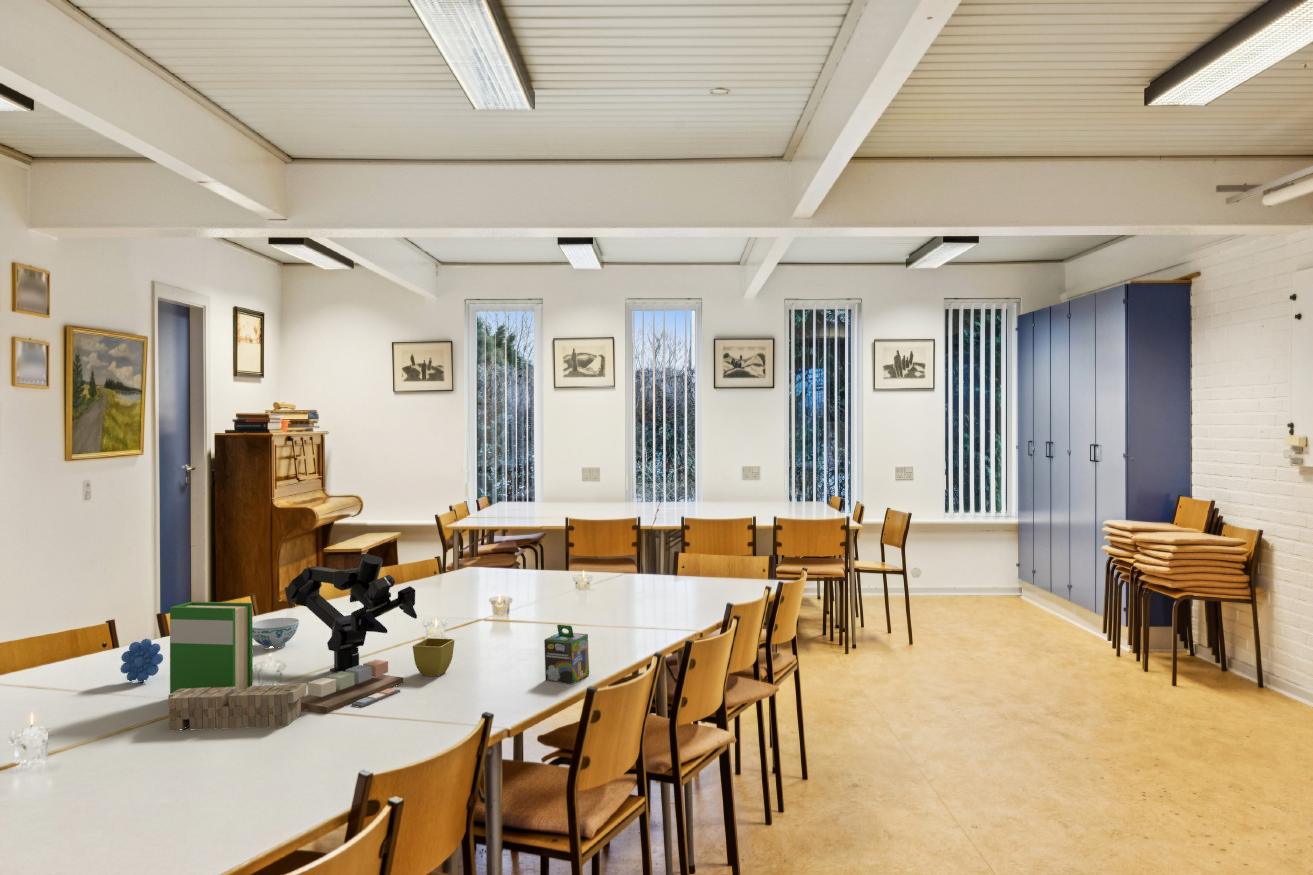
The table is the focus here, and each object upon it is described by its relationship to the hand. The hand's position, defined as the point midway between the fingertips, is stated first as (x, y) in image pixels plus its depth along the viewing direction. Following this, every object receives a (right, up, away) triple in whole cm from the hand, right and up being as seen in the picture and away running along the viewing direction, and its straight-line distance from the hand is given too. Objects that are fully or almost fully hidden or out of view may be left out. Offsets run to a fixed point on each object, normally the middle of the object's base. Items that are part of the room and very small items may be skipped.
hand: (401, 624), depth 209 cm
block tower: (-29, -16, -29) cm, 44 cm away
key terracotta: (-7, -13, -1) cm, 15 cm away
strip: (-2, -16, -13) cm, 21 cm away
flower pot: (+6, -16, +8) cm, 19 cm away
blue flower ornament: (-73, -17, +4) cm, 75 cm away
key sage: (-12, -13, -12) cm, 21 cm away
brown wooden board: (-10, -16, -9) cm, 21 cm away
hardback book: (-45, -17, -11) cm, 49 cm away
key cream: (-14, -13, -18) cm, 26 cm away
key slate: (-9, -13, -7) cm, 17 cm away
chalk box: (+45, -16, +3) cm, 47 cm away
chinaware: (-56, -18, +41) cm, 71 cm away
